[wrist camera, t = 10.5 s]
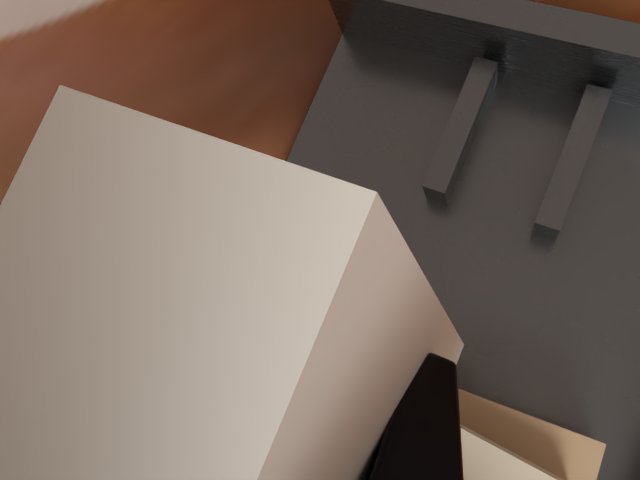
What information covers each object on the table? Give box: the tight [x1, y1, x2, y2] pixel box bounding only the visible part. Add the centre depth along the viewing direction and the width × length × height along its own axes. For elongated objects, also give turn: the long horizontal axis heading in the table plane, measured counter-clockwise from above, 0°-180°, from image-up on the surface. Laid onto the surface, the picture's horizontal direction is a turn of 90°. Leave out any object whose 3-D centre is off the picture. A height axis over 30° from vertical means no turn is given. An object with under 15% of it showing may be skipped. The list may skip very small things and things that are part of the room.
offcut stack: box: [458, 389, 606, 480], centre depth 18 cm, size 7×11×4 cm, turn 66°
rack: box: [286, 0, 640, 480], centre depth 20 cm, size 20×16×4 cm
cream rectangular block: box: [0, 85, 464, 480], centre depth 9 cm, size 4×2×12 cm, turn 156°
